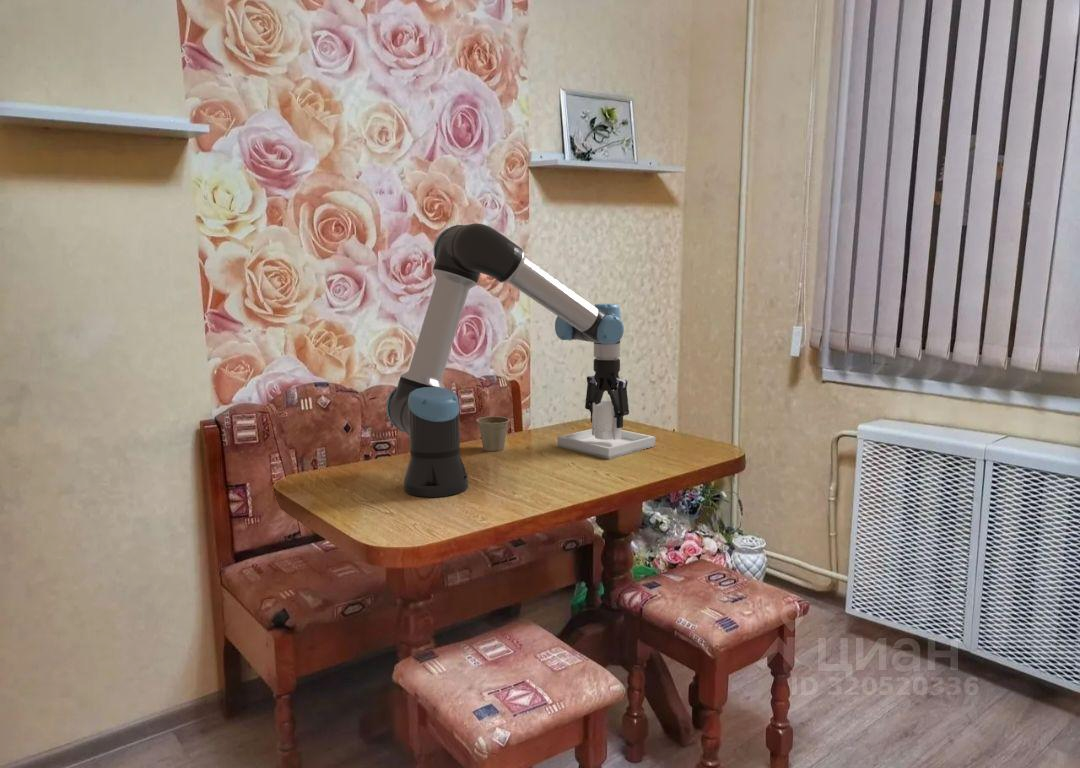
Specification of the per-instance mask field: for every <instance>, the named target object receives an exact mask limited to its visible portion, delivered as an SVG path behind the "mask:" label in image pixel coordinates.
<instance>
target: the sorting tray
mask: <svg viewBox="0 0 1080 768" xmlns="http://www.w3.org/2000/svg"><path fill="white" fill-rule="evenodd" d="M653 446H655V447H656V436H653V435H648V434H645V433H644V434H643V433H639V432H634V431H630V430H624V429H621V438H620V439H616V440H614V439H611V440H602V439H597V438H595V437H594V435H592V428H589V429H586V430H581V431H577V432H573V433H568V434H562V435H560V436H559V435H558V436H557V447H559V448H562V449H566V450H570V451H574V452H578V453H581V454H587V455H590V456H594V457H598V458H602V459H606V460H612V459H614V458H615V459H616V458H619V457H623V456H626V454H627V455H630V454H629V453H631V454H633V452H634V453H638V452H641V451H640V450H642V451H644V450H643V449H645V450H647V449H646V448H649V449H651V448H650V447H653ZM653 448H654V447H653ZM637 451H638V452H637Z"/></svg>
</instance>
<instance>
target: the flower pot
mask: <svg viewBox="0 0 1080 768" xmlns="http://www.w3.org/2000/svg"><path fill="white" fill-rule="evenodd" d="M510 421H511V420H510V418H508V417H504V416H497V415H496V416H494V415H493V416H483V417H479V418H477V419H476V422H477V424H478V425H477V426H478V427H479V430H480V431H479V432H480V438H481V444H482V449H483V450H484V451H486V452H495V451H499V452H501V451H503V450H505V448H506V447H505V446H506V445H505V444H506V436H507V430H508V429H507V428H508V426H509V423H510Z"/></svg>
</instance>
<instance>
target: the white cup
mask: <svg viewBox="0 0 1080 768" xmlns="http://www.w3.org/2000/svg"><path fill="white" fill-rule="evenodd" d="M592 404H593V426H594V437H595V438H597V439H602V440H611V439H613V417H614V416H615V412H614V406H613V405H612V402H611V400H601V402H600V403H599V404H597V405H596V404H595V402H594V403H592Z"/></svg>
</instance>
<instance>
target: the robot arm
mask: <svg viewBox="0 0 1080 768" xmlns="http://www.w3.org/2000/svg"><path fill="white" fill-rule="evenodd" d="M434 241H435V242H434V243H433V248H432V249H433V257H434V265H433V267H432V274H433V275H434V277H435V282H434V286H433V288H432V292H431V296H430V299H429V303H428V305H427V308H426V311H425V312H426V313H425V315H424V319H423V322H422V325H421V328H420V332H419V336H418V339H417V342H416V345H415V349H414V352H413V355H412V358H411V362H410V365H409V368H408V370H407V371H405V372H404V373H402V374H400V376H399V381H398V383H397V386H396V387H395V388H394V389H393V390H392V391H391V392H390V393H389V395H388V397H387V400H386V406H385V409H386V415H387V418H388V419H389V421H390V422H391V424H393V426H394V427H395V428H396V429H397V430H399V431H401V432H402V433H405V434H408V435H409V450H410V451H409V452H410V454H409V455H410V458H409V462H408V465H407V469H406V473H405V477H404V479H403V488H404V489H403V491H404V492H405V493H407V494H409V495H411V496H414V497H422V498H441V497H447V496H453V495H458V494H461V493H462V492H465V491H466V490H467V489H468V488H469V478H468V477H469V476H468V475H467V471H466V469H465V465H464V463H463V460H462V457H461V448H460V447H461V444H460V443H461V442H460V441H461V440H460V438H461V437H460V408H461V407H460V404H459V397H458V396H457V393H456V392H454V391H453V390H451V389H449V388H446V386H445V385H444V383H443V378H444V374H445V370H446V367H447V364H448V362H449V361H448V360H449V358H450V353H451V351H452V350H451V349H452V347H453V345H454V341H455V337H456V334H457V332H458V331H457V330H458V329H459V324H460V320H461V318H462V314H463V310H464V307H465V304H466V301H467V298H468V294H469V291H470V290H471V289H472V288H474V287H476V286H477V284H478V282H479V279H480V277H481V274H483V275H487V276H488V277H491V278H492V279H495V280H496V281H498V282H499V283H508V284H509V285H511V286H513V288H516V290H519V292H521V293H523V294H524V295H526V296H528V297H529V298H530V299H531V300H533V301H534V302H536V303H538V304H540V306H542V307H544V308H546V309H547V310H548V311H550V312H551V313H553V314H554V315H556V319H555V322H554V331H555V334H556V336H557V338H558V339H559V340H561V341H576V340H577V341H584V342H591V343H593V357H594V359H593V371H594V375H589V376H587V377H586V383H587V387H586V396H585V405H584V409H585V410H588V411H589V412H590V423H591V429H592V435H594V426H593V404H592V403H594V402H595V404H596V405H597V404H599V403H600V402H601V401H602V399H603V396H604V393H605V392H607V395H609V398H610V401H611V402H612V405H613V406H614V412H615V416H614V417H613V439H614V440H616V439H620V438H621V430H622V428H623V427H624V417H625V416H628V415H629V414H630V410H629V409H630V407H629V398H628V397H629V396H628V391H627V387H628V380H626V379H625V380H623V379H621V378H620V376H619V374H620V371H621V359H620V356H621V339H622V337H623V336H624V332H625V326H624V323H623V321H622V319H621V308H620V306H619V304H617V303H595V304H594V305H593V304H592V303H591V302H589V301H588V300H587V299H585V298H584V297H582V296H581V295H580V294H579V293H577V292H575V291H574V290H573V289H571V288H570V287H569V286H567V285H565V284H564V283H563V282H561V280H559V279H557V278H556V277H555V276H553V275H552V274H550V273H549V272H548V271H546V270H545V269H544V268H542V267H541V266H540V265H538V264H536V263H535V262H534V261H532V260H531V259H530V258H528V257H527V256H525V252H524V249H523V248H522V247H520V246H519V245H517V243H514V242H513V241H512V240H510V239H509V238H507V236H505V235H504V234H502V233H501V232H499V231H497V230H496V229H495V228H493V227H491V226H489V225H486V224H484V223H483V224H482V223H476V222H475V223H470V224H457V225H456V224H455V225H453V226H450V227H448V228H446V229H444V230H443V231H442V232H440V233H439V235H438V236H436V238H435V240H434Z"/></svg>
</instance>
